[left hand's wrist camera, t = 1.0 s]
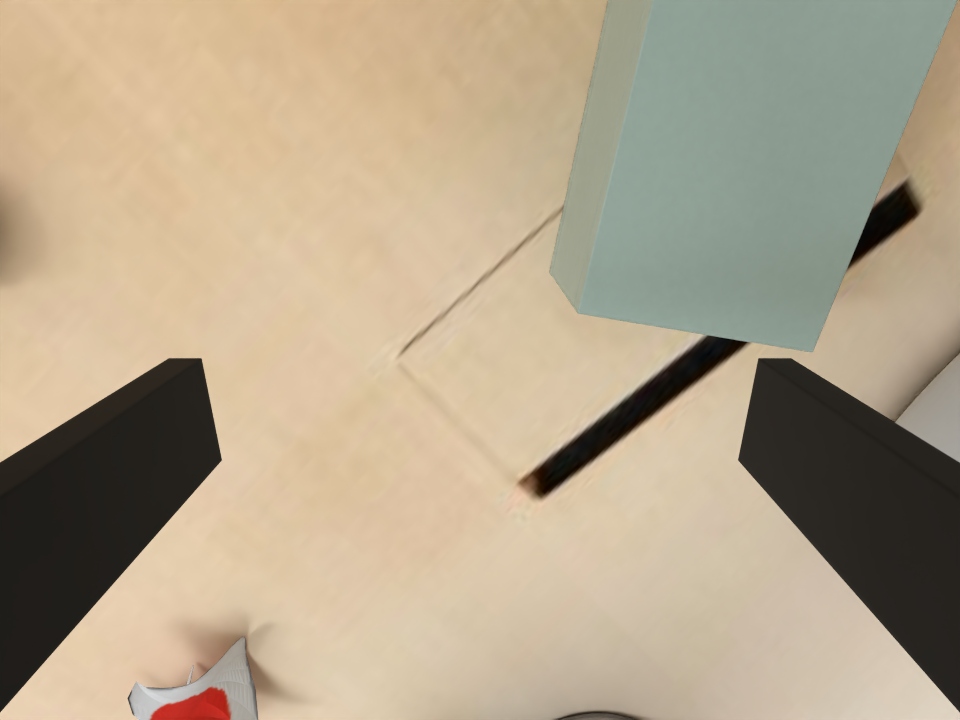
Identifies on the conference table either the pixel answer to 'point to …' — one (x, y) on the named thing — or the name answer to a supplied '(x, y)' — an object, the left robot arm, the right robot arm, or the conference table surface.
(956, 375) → the projector
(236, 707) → the fish
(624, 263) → the cabinet
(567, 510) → the conference table surface
